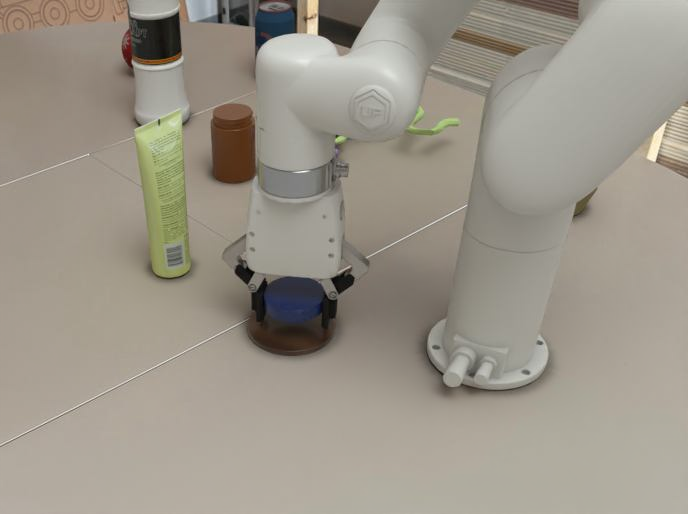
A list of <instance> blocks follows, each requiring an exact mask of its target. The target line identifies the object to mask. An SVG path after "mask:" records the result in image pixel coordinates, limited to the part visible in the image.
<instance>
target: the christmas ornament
mask: <svg viewBox="0 0 688 514" xmlns="http://www.w3.org/2000/svg"><path fill="white" fill-rule="evenodd" d="M121 54H122V58H123V60H124V62H125V63H126V64H127V66H128V67H129V68H131V70H133V65H132V59H133V57H132V48H131V39H130V30H129V28H128V29H127V30H126V32H125V33H124V35H123V37H122V41H121Z"/></svg>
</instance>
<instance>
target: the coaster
mask: <svg viewBox="0 0 688 514" xmlns="http://www.w3.org/2000/svg"><path fill="white" fill-rule="evenodd" d="M321 322H322V313H321V314H320V315H318V316H317V317H315V318H314V319H311V320H309V321H305V322H298V323H289V322H283V321H279V320H276V319H274V318H272V317H271V316H269V315H268V314H267V313H266V314H265V317H264V320H263V321H262V322H257V321H256V311H252V313H251V315H250V316H249V318H248V321H247V333H248V337H249V338H250V340H251V341H252V342H253V343H254V344H255V345H256V346H257V347H259V348H260V349H261V350H265V351H266V352H269V353H271V354H276V355H279V356H280V355H281V356H302V355H307V354H311V353H314V352H316V351H318V350H321V349H322V348H324V347H326V345H328V344H329V343H330V342H331V341H332V339H333V337H334V335H335V332H336V331H335V330H336V322H335V319H331V318H330V322H329V326H328V329H323V327H321Z"/></svg>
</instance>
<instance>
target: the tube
mask: <svg viewBox="0 0 688 514" xmlns="http://www.w3.org/2000/svg"><path fill="white" fill-rule="evenodd" d="M183 132H184V131H183V124H182V113H181V108H179V109H177V110H175V111H173V112H171V113H169V114H167V115H165V116H163V117H161V118H159V119H156V120H154V121H152V122H150V123H148V124H145V125H143V126H142V125H140V126H139V127H136V128H134V129H133V137H134V143H135V149H136V155H137V161H138V168H139V176H140V181H141V182H140V183H141V189H142V196H143V204H144V212H145V213H144V214H145V219H146V227H147V236H148V244H149V253H150V262H151V269H152V271H153V273H154V274H155V275H156V276H158V277H161V278H167V279H170V278H178V277H181V276H183V275H185V274H186V273H188V272H189V271H190V269H191V266H192V265H191V263H192V262H191V251H190V250H191V249H190V239H189V237H190V236H189V222H188V208H187V207H188V206H187V193H186V192H187V190H186V175H185V174H186V173H185V157H184V155H185V154H184V134H183Z"/></svg>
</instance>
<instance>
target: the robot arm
mask: <svg viewBox="0 0 688 514" xmlns="http://www.w3.org/2000/svg"><path fill="white" fill-rule="evenodd" d="M480 1H481V0H379V1H378V3H377V4H376V6H375V7H374V9H373V11H372V12H371V14H370V15H369V17H368V18H367V20H366V21H365V23H364V25H363V26H362V28H361V30H360V31H359V33H358V34H357V35H356V38H355V40H354V41H353V43H352V45H351V48H350V50H349V52H348V53H347V54H345V55H340V54H339V53H338V49H337V48H336V46H335V44H334V43H333V42H332V41H330V40H329V39H328V38H326V37H325V36H321V35H318V34H313V33H303V32H302V33H299V32H297V33H295V32H294V34H287V35H282V36H278V37H275V38H272V39H270V40H268V41H267V42H266V43H265V44H263V45H262V46H261V48H260V49H259V51H258V54H257V57H256V70H255V69H254V70H255V108H256V109H255V110H256V148H257V149H256V150H257V154H256V155H257V156H256V157H257V159H256V160H257V175H255V176H254V177H253V178H252V184H251V188H250V193H249V198H248V199H249V200H248V208H247V217H246V233H244V234H243V235H242V236H240V237H239V238H238V239H236V240H235V241H233V242H232V243H231V244H229V245H228V246H227V247H225V248H224V250H223V253H222V255H221V259H222V261H223V262H224V263H225V264H226V265H227V266H228V267H229V268H230V269H231V270H233V271H234V275H235V276H236V277H237V278H238V279H240V280H241V281H242V282H243V283H244V284H245V285H246V288H247V290H248V291H249V292H250V294H251V295H250V298H251V299H250V301H251V302H250V303H251V311H252V312H254V311H256V321H257V322H262V321H263V320H264V317H265V314H266V311H265V309H264V301H263V294H264V291H265V288H266V286H267V285H268V284H269V282H268V280H267V278H266V276H267V275H272V276H282V277H287V276H292V277H304V278H311V279H314V280H316V279H318V282H319V283H320V284H321V285H322V287H323V289H324V290H325V292H324V296H323V300H322V322H321V327H323V329H328V326H329V322H330V318H331V319H334V320H336V318H337V313H338V302H339V301H338V300H339V296H340V295H341V294H342V293H344V292H345V291H347V290H348V289H350V288H351V287H352V286H353V285H354V284H355V282H356V281H359V280H360V279H361V278H362V277H364V276H365V275H366V274H368V272H369V270H370V265H371V261H370V260H369V259H368V258H367V257H365V256H364V255H363V254H362V253H361V252H360V251H359V250H358V249H356V248H355V246H353V244H351V243H350V242H349V241H348V240H347V239H346V209H345V199H344V198H345V197H344V188H343V185H342V181H341V178H348V177H349V175H350V162H342V161H341V160H339V157H337V158H336V151H335V138H336V136H343V137H347V139H350V140H354V141H357V142H358V141H359V142H364V143H372V144H373V143H374V144H377V143H385V142H389V141H393V140H394V139H397V138H398V137H400V136H401V135H402V134H404V133H405V132H406V130H407V129H408V128H409V127H410V125H411V124H412V122H413V121H414V119H415V117H416V114H417V112H418V108H419V106H420V104H421V100H422V96H423V92H424V87H425V83H426V80H427V79H426V78H427V75H428V73H429V71H430V69H431V68H432V66H433V64H434V63H435V62H436V60H437V58H438V57H439V56H440V54H441V53H442V52H443V50H444V49H445V47H446V46H447V44H448V43H449V41H450V40H451V39H452V37H453V36H454V34H455V33H456V32H457V31H458V29H459V28H460V27H461V25H463V23H464V21H465V20H466V18H467V17H469V15H470V13H471V12H472V11H473V10H474V8H475V7H476V6H477V5H478V4H479V3H480ZM577 8H578V9H577V15H578V16H577V19H578V27H577V28H576V30H575V31H574V33H573V34H572V35H571V36H570V38H568V39H567V41H566V42H565V43H564V45H562V44H553V43H551V44H550V43H549V44H540V45H536V46H533V47H530V48H528V49H525V50H523V51H521V52H520V53H518V54H516V55H515V56H514V57H512V58H511V59H510V60H508V62H506V63H505V64H504V65H503V66H502V68H501V69H500V70H499V71H498V73H497V74H496V75H495V77H494V79H492V82H491V83H490V86H489V88H488V89H487V93H486V96H485V99H484V103H483V108H482V111H481V112H482V113H481V118H480V119H481V120H480V126H479V134H478V142H477V147H476V153H475V159H474V165H473V172H472V176H471V183H470V188H469V194H468V200H467V206H466V210H465V216H464V219H463V225H462V229H461V230H462V231H461V236H460V241H459V246H458V252H457V258H456V263H455V269H454V274H453V279H452V284H451V290H450V294H449V295H450V296H449V301H448V305H447V312H446V317H444V318H443V319H441V320H439V321H438V322H436V323H435V325H434V326H432V328H431V329H430V331H429V332H428V336H427V340H426V352H427V356H428V358H429V360H430V362H431V363H432V365H433V366H434V367H435V368H436V369H437V370H438V371H439V372H441V373H442V374H443V375H442V380H443V383H444V384H445V385H446V386H447V387H450V388H458V387H460V386H461V384H462V385H465V386H468V387H471V388H476V389H481V390H482V389H483V390H488V391H489V390H491V391H494V390H495V391H502V390H503V391H505V390H512V389H516V388H520V387H524V386H526V385H529V384H531V383H532V382H535V380H537V379H538V378H540V377H541V375H542V374H543V373H544V371H545V369H546V367H547V364H548V360H549V356H550V353H549V346H548V345H547V343H546V341H545V339H544V338H543V336H542V335H541V334H540V332H541V328H542V325H543V321H544V317H545V314H546V310H547V307H548V304H549V300H550V296H551V293H552V289H553V286H554V283H555V279H556V275H557V272H558V268H559V266H560V261H561V258H562V256H563V251H564V248H565V245H566V241H567V238H568V235H569V232H570V228H571V225H572V222H573V219H574V218H573V217H574V215H573V214H574V210H575V207H576V203H577V202H578V201H580V200H581V199H583V198H584V197H586V196H587V195H588V194H590V193H591V192H592V191H593V190H595V189H596V188H597V187H598V188H599V186H601V185H602V184H603V183H604V182H605V181H606V180H607V179H608V178H609V177H611V175H613V173H615V172H616V170H618V169H619V168H620V167H621V166H622V165H623V164H624V163H625V162H626V161H627V160H628V159H629V158H630V157H631V156H632V155H634V153H636V151H638V150H639V148H641V147H642V146H643V145H644V144H645V143H646V142H647V141H648V140H649V139H650V138H651V137H652V136H653V135H654V134H655V133H656V132H657V131H659V129H660V128H661V127H662V126H664V125H665V124H666V123H667V122H668V121H669V120H670V118H672V116H673V115H675V114H676V113H677V111H679V110H680V109H681V108H682V107H683V106H684V105H685V104H686V103H687V102H688V0H579V1H578V7H577ZM244 253H245V259H243V257H242V256H241V255H242V254H244ZM342 260H343V261H345V262H346V263H347V265H349V266H350V267H349V268H347V269H346V270H344V271H343V272H341V273H339V272H340V267H341V263H342Z"/></svg>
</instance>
